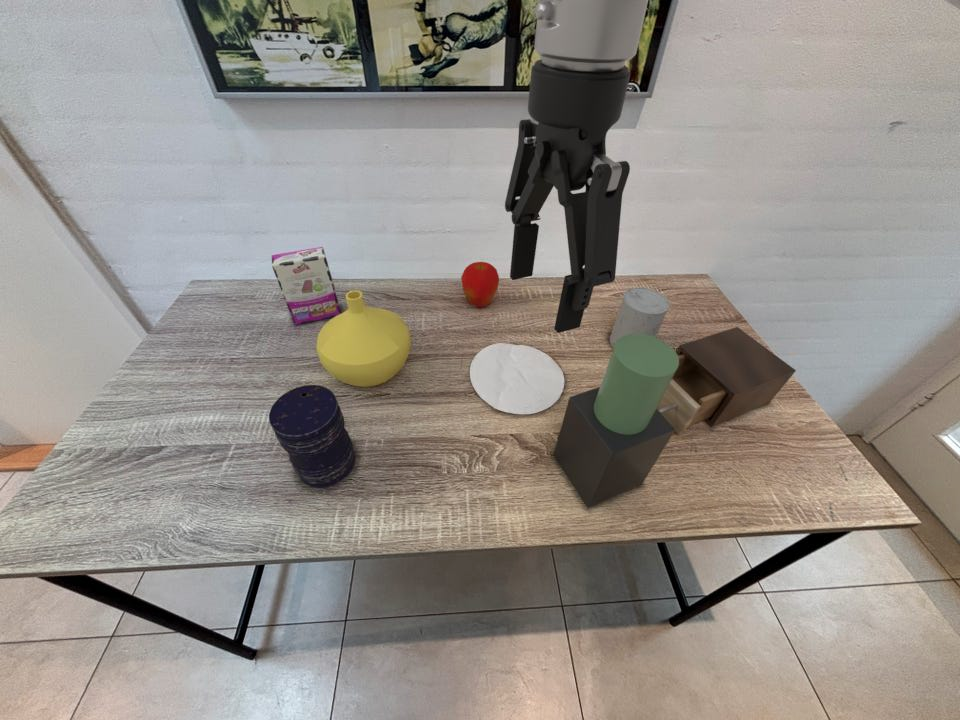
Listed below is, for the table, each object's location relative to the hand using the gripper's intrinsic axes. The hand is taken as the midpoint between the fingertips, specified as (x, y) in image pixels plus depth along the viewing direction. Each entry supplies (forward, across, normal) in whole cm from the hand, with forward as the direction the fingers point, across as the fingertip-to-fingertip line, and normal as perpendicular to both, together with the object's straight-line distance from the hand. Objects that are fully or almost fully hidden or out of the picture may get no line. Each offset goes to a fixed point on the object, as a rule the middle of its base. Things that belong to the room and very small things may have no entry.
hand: (542, 300), depth 47 cm
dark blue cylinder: (+36, -13, -30) cm, 49 cm away
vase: (+36, -33, -18) cm, 52 cm away
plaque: (+36, -19, +10) cm, 42 cm away
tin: (+20, +6, +13) cm, 24 cm away
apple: (+36, -46, +13) cm, 60 cm away
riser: (+36, +6, +13) cm, 38 cm away
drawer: (+35, 0, +36) cm, 50 cm away
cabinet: (+36, 0, +47) cm, 59 cm away
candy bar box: (+36, -56, -26) cm, 71 cm away
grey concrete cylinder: (+36, -19, +40) cm, 57 cm away
